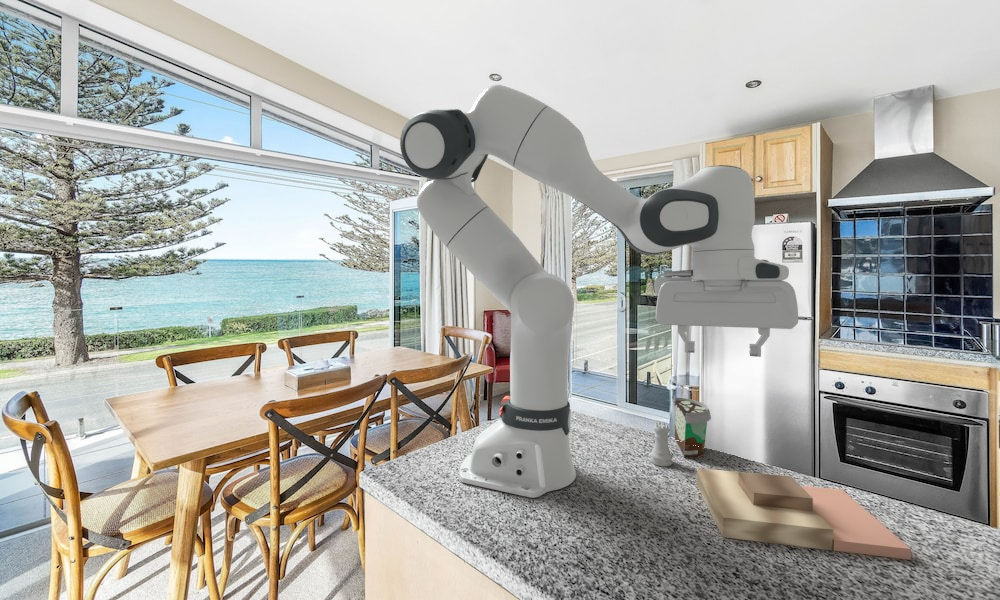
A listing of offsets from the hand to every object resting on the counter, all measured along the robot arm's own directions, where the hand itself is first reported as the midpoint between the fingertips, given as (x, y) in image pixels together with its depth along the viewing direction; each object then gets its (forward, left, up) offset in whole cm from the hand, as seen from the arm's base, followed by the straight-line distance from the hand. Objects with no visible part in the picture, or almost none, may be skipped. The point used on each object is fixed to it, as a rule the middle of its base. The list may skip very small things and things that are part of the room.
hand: (721, 354), depth 68 cm
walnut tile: (+8, -1, -23) cm, 24 cm away
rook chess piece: (-7, +15, -26) cm, 31 cm away
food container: (+1, +23, -26) cm, 35 cm away
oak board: (+5, -1, -26) cm, 26 cm away
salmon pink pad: (+17, -1, -26) cm, 31 cm away
